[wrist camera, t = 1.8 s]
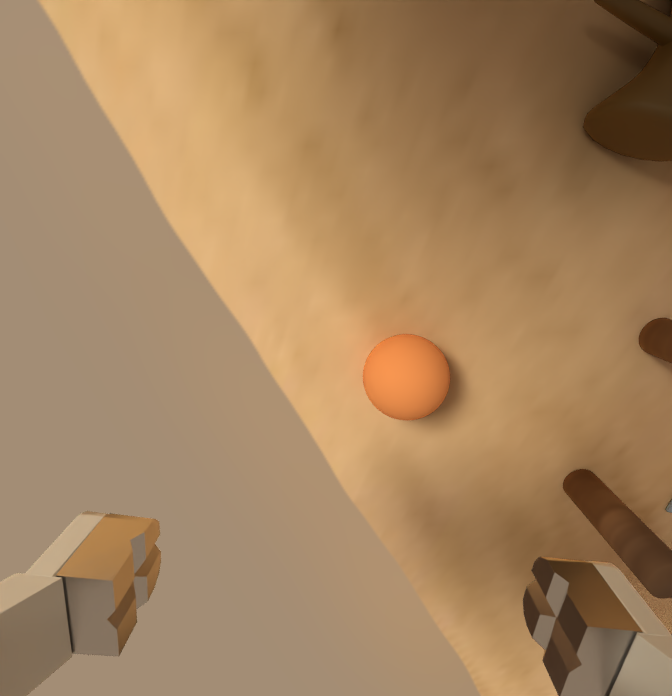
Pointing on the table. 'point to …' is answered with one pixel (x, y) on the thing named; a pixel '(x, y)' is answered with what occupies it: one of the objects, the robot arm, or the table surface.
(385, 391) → the ball
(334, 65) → the table surface
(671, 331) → the post
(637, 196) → the table surface
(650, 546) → the post
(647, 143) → the kendama
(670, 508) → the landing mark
